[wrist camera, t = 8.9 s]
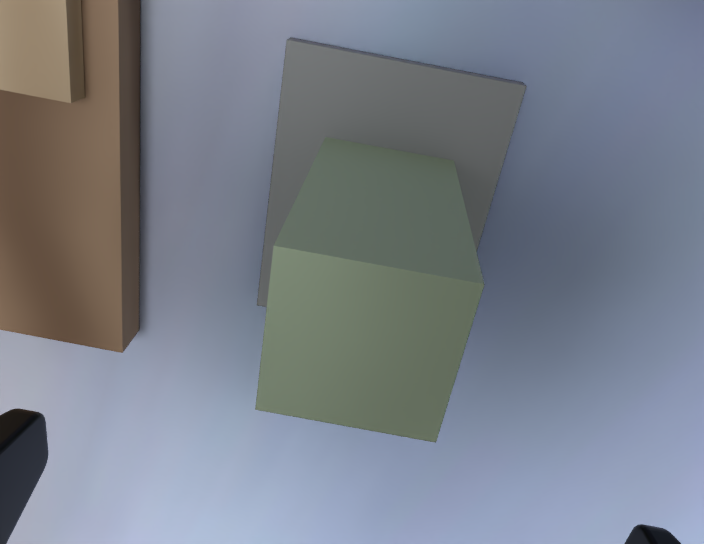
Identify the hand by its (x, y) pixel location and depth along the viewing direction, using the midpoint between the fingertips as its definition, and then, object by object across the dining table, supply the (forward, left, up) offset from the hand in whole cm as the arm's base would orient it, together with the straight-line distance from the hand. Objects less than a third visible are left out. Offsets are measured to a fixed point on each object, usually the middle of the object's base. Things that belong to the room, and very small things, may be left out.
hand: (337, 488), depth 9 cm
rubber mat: (0, 0, -12) cm, 12 cm away
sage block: (0, 0, -12) cm, 12 cm away
